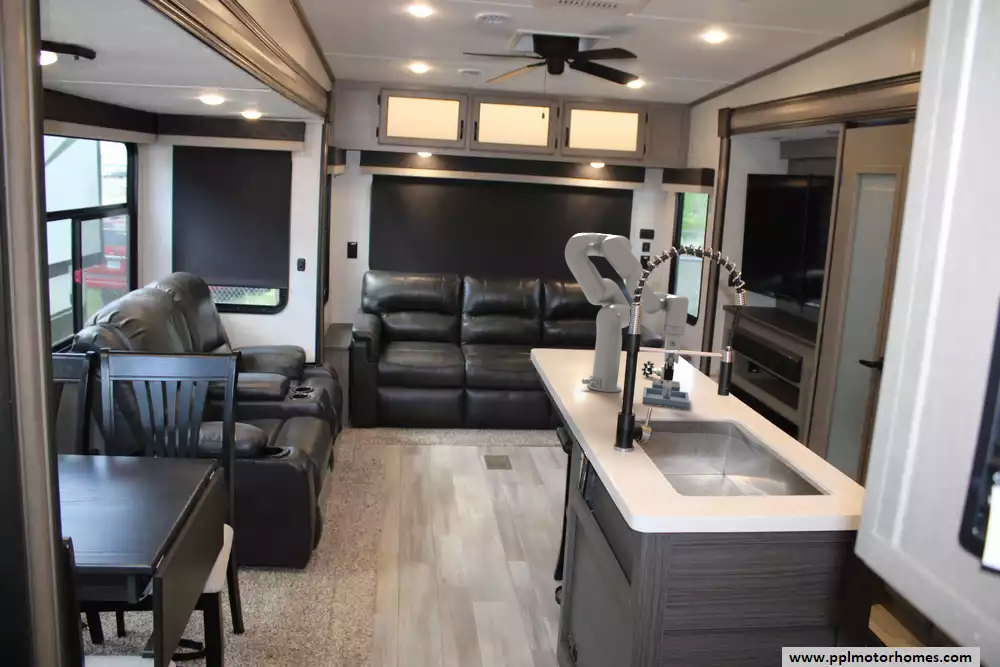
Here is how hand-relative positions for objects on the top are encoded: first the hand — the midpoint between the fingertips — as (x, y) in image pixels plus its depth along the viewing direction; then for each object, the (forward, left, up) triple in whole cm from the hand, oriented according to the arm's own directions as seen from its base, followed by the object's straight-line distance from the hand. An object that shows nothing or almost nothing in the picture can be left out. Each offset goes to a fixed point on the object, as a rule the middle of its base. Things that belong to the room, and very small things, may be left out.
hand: (667, 377), depth 300 cm
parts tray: (0, 0, -9) cm, 9 cm away
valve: (+23, +27, -9) cm, 37 cm away
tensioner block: (+11, +11, -9) cm, 17 cm away
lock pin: (0, 0, -8) cm, 8 cm away
